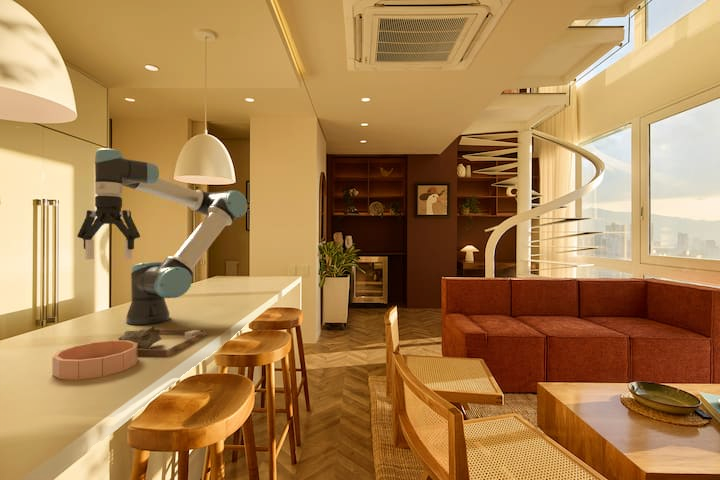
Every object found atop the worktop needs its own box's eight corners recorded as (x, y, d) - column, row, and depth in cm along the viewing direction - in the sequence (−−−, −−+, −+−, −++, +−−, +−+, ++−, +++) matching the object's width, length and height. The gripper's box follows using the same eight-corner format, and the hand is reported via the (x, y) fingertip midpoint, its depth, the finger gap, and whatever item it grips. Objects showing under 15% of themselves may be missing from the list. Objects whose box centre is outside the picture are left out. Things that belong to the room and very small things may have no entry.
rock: (162, 335, 120) (162, 326, 112) (158, 354, 117) (157, 347, 109) (122, 333, 116) (118, 324, 108) (117, 352, 113) (113, 345, 105)
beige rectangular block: (194, 336, 129) (194, 329, 129) (200, 337, 128) (200, 330, 128) (184, 339, 125) (184, 332, 125) (191, 340, 124) (191, 333, 124)
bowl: (92, 355, 108) (92, 339, 108) (151, 356, 106) (151, 341, 106) (34, 378, 90) (34, 359, 90) (104, 380, 89) (104, 361, 89)
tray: (148, 334, 131) (148, 329, 131) (206, 335, 130) (206, 330, 130) (97, 354, 108) (97, 348, 108) (167, 356, 107) (167, 350, 107)
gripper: (64, 195, 122) (64, 259, 122) (137, 194, 120) (137, 260, 121) (82, 197, 130) (82, 258, 130) (151, 197, 128) (151, 258, 128)
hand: (108, 259), depth 125 cm, fingers open, 13 cm apart
